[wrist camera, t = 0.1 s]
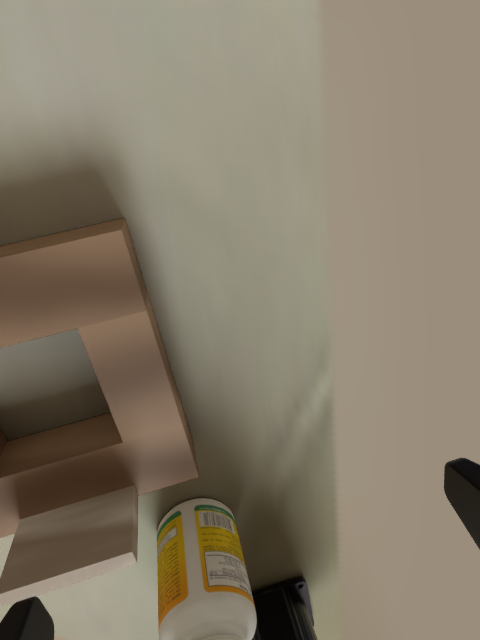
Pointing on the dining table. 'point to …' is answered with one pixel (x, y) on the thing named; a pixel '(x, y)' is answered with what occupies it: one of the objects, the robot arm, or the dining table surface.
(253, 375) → the dining table surface
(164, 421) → the socket board
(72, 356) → the dining table surface
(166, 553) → the supplement bottle
